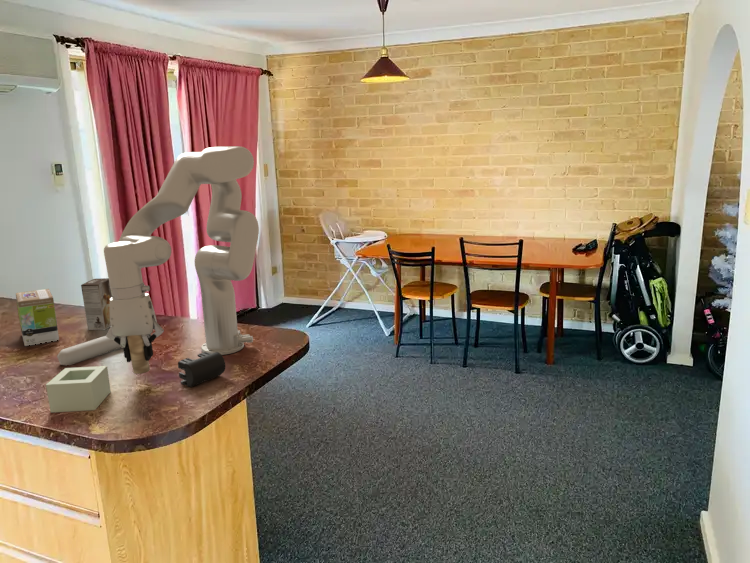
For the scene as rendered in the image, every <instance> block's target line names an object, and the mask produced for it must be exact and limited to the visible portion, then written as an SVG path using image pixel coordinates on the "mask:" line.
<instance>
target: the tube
mask: <svg viewBox="0 0 750 563" xmlns="http://www.w3.org/2000/svg"><path fill="white" fill-rule="evenodd" d="M119 349H123V348H122V347H121V346H120V345H119V344H118V343H116V342H115V341H114V340H112V339H109V338H107V337H106V335H104V336H101V337H98V338H94V339H91V340H88V341H83V342H81V343H78V344H74V345H72V346H69V347H66V348H62V349H61V350H60V351H59V352H58V354H57V355H56V357H57V360H58V363H59V365H61V366H65V367H67V365H69V366H72V365H75V364H77V363H81V362H84V361H87V360H90V359H92V358H96V357H99V356H102V355H105V354H108V353H111V352H114V351H116V350H119Z"/></svg>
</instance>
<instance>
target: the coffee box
mask: <svg viewBox="0 0 750 563" xmlns="http://www.w3.org/2000/svg"><path fill="white" fill-rule="evenodd" d="M80 287H81V294H82V299H83V300H82V301H83V306H84V312H85V313H84V314H85V320H86V324H87V330H88V331H96V330H97V331H98V330H99V331H100V330H101V331H102V330H103V331H105V330H107V329H108V328H109V329H110V327H111V324H110V298H111V297H112V294H111V289H110V283H109V278H107V277H106V278H93V279H91V280H88V281H86V282H83V283H82V284H81V285H80Z"/></svg>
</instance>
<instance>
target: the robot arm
mask: <svg viewBox="0 0 750 563" xmlns="http://www.w3.org/2000/svg"><path fill="white" fill-rule="evenodd" d="M254 161H255V159H254V156H253V154H252V152H251V151H250V150H249V149H248V148H246V147H244V146H241V145H240V146H239V145H238V146H237V145H236V146H233V145H232V146H211V147H207V148H204V149H203V150H202V151H189V152H183V153H181V154H179V155H178V156H177V157H176V159H175V161H174V163H173V164H172V166H171V168H170V169H169V171H168V173H167V175H166V178H165V179H164V181H163V183H162V184H161V187H160V188H159V190H158V192H157V194H156V196H155V197H153V198H152V199H150V200H149V201H148V202H147V203H146V204H144V205H143V206H142V207H141V208H140V209H139V210H138V211H137V212H135V213H134V215H132V217H131V218H130V219H129V220H128V222H127V224H126V226H125V227H124V229H123V231H122V233H121V235H120V236H119V239H118V241H115V242H110V243H108V244H106V245H104V248H103V256H104V260H105V265H106V271H107V277H108V278H109V283H110V289H111V294H112V297H111V298H110V324H111V326H110V327H109V329H108V331H107V333H106V335H105V336H106V337H107V338H109V339H112V340H114V341H115V342H116V343H118V344H119V345H120V346H121V347H122V348H121V349H122V350H123V356H124V359H126V363H131V356H130V351H129V345H128V339H127V336H131V335H138V336H139V335H142V338H143V340H144V343H145V346H144V347H143V348H144V354H145V360H146V361H150V360H151V358H152V357H153V356H154V350H153V344H152V343H153V342H154V341H155V339H157V338H158V337H160V336H161V335H163V333H164V331H165V330H164V328H162V326H160V324H159V323H158V321H157V316H156V312H155V309H154V305H153V302H152V299H151V297H150V294H149V293H147V292H150V290H151V288H150V285H146V284H145V283H144V281H143V275H142V269H143V268H149V267H150V268H151V267H158V266H161V265H163V264H165V263H166V262H168V260H169V259H170V258H171V256H172V246H171V245H170V243H169V242H168V240H166V239H164V238H163V237H161V236H155V235H152V234H153V233H154V232H155V231H156V229H158V228H159V227H161V226H163V224H165V223H167V222H170V221H172V220H174V219H177V218H179V217H180V216H182V215H184V214H186V213H187V212H188V210H189V209H190V206H191V205H192V202H193V201H194V198H195V196H196V195H197V193H198V190H199V188H200V186H201V185H210V186H211V200H210V206H209V210H208V216H207V221H206V234H207V236H208V237H209V238H210V239H211V240H213V241H217V242H223V243H230V245H229V246H225V245H217V244H215V245H214V244H212V245H211V244H210V245H205V246H203V247H201V248H199V249H198V250H197V252H196V253H195V256H194V267H195V271H196V275H197V279H198V282H199V286H200V287H199V288H200V294H201V303H202V314H203V327H204V335H205V336H204V337H205V343H203V344H202V345H201V346H200V350H201V353H203V352H208V353H211V354H212V353H215V352H219V353H220V354H221V355H222V356H223V355H229V354H230V355H231V354H235V353H236V352H237V353H238V352H239V351H241V350H242V349H243V348H244V347H245V343H247V344H248V343H253V342H254V337H253V335H250V334H241V330H239V329H238V320H237V318H238V317H237V309H236V308H237V307H236V306H237V305H236V294H235V293H236V292H235V289H234V285H233V283H232V281H234V282H235V281H236V282H239V281H244V280H245V279H247V278H248V277H249V276H250V274H251V272H252V270H253V266H254V262H255V255H256V251H257V244H258V241H259V240H258V239H259V233H260V227H259V221H258V220H257V217H256V216H255V214H253V213H252V212H250V211H248V210H243V209H241V206H242V205H241V204H242V199H243V198H242V197H243V196H242V189H241V186H240V184H239V183H238V181H237V180H238V179H241V178H245V177H247V176H248V175H250V173H251V172H252V170H253V169H254V165H255V162H254ZM153 331H155V332H153Z"/></svg>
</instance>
